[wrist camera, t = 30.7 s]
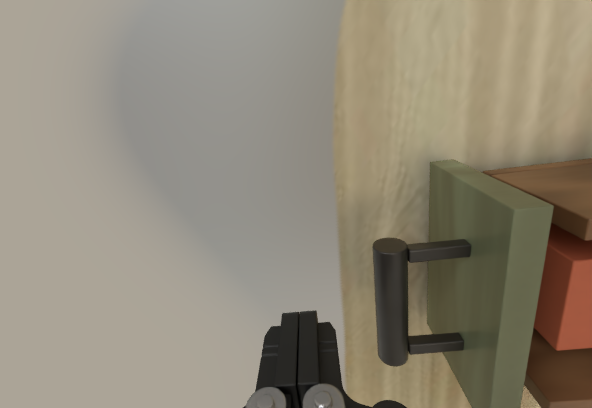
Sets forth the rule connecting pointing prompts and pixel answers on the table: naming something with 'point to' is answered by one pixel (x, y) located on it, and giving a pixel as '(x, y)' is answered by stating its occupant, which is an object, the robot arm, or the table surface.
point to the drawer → (489, 282)
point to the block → (566, 292)
